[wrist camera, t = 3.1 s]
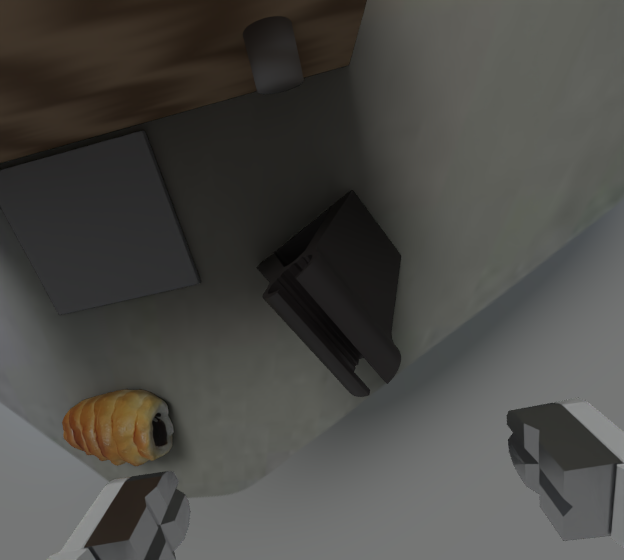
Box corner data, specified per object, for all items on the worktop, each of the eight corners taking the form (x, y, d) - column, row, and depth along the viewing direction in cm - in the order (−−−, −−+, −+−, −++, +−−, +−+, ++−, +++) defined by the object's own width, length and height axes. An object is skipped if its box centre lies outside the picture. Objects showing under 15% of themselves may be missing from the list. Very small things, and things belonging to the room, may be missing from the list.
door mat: (145, 131, 21) (141, 130, 21) (200, 282, 25) (199, 283, 24) (-12, 175, 22) (-17, 175, 22) (62, 313, 26) (59, 315, 26)
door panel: (339, 7, 19) (416, -651, 4) (355, 100, 20) (455, -100, 5) (-78, 132, 22) (-994, 47, 7) (-36, 205, 23) (-700, 272, 8)
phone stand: (306, 321, 26) (295, 440, 14) (256, 265, 24) (201, 348, 13) (400, 254, 24) (473, 331, 12) (352, 189, 22) (386, 208, 11)
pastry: (86, 444, 31) (55, 480, 27) (65, 385, 29) (28, 416, 25) (181, 442, 30) (162, 478, 27) (167, 382, 28) (144, 413, 25)
